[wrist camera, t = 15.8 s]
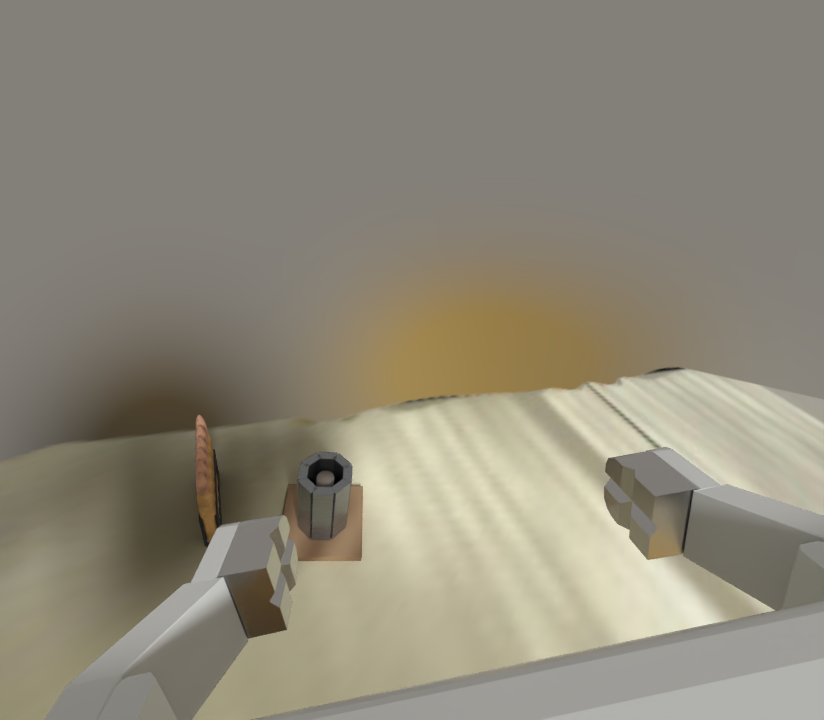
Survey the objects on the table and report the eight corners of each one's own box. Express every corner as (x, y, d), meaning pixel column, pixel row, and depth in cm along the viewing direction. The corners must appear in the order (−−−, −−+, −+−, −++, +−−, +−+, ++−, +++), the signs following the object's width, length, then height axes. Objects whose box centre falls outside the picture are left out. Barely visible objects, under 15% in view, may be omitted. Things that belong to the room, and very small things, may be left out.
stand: (275, 560, 46) (272, 515, 41) (289, 488, 54) (288, 443, 49) (360, 560, 48) (368, 516, 43) (362, 490, 56) (368, 447, 51)
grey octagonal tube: (295, 540, 47) (294, 493, 42) (302, 497, 52) (302, 451, 47) (345, 540, 48) (351, 495, 43) (347, 498, 53) (352, 453, 48)
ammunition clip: (222, 542, 47) (209, 477, 40) (205, 547, 46) (188, 482, 39) (218, 472, 55) (207, 408, 48) (203, 475, 54) (190, 410, 47)
